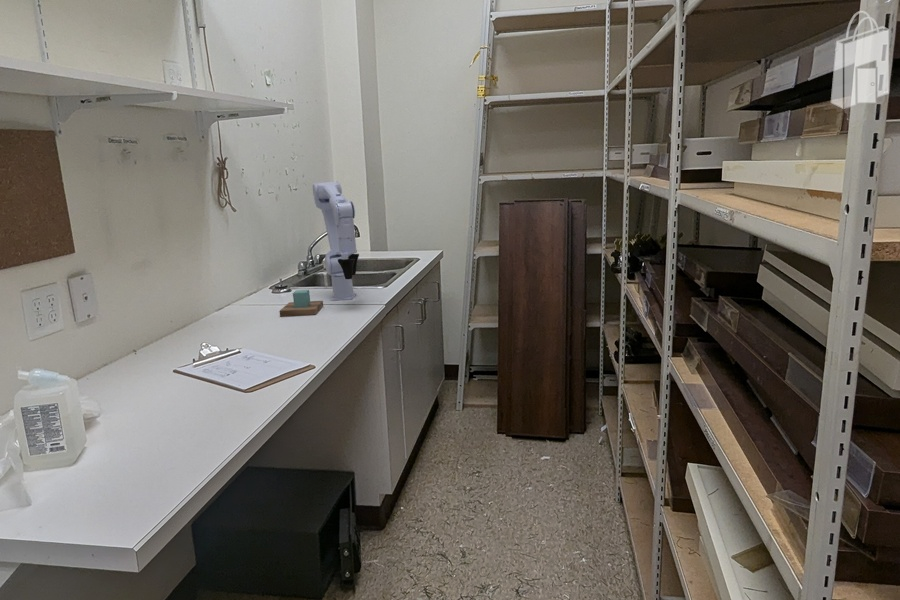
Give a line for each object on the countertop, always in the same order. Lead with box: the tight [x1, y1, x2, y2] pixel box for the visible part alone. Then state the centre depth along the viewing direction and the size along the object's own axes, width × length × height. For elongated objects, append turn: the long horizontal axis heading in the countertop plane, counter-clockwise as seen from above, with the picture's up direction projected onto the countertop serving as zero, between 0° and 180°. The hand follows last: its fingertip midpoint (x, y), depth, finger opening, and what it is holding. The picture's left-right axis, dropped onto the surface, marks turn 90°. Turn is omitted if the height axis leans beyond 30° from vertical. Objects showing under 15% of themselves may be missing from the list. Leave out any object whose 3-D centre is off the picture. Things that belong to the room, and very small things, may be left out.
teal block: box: [292, 289, 311, 308], centre depth 197 cm, size 4×4×5 cm
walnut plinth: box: [278, 300, 324, 318], centre depth 198 cm, size 12×12×2 cm
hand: (350, 276), depth 199 cm, fingers open, 7 cm apart
